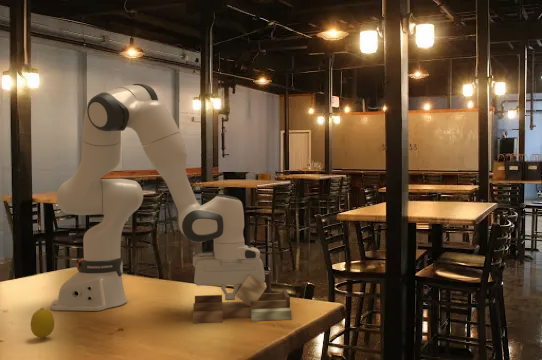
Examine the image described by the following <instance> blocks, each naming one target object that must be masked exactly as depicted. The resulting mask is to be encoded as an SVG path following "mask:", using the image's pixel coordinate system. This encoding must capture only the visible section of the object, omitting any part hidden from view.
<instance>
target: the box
mask: <svg viewBox="0 0 542 360" xmlns="http://www.w3.org/2000/svg"><path fill="white" fill-rule="evenodd" d="M264 273H265V281H264V282H265V283H266V287H267V288H266V289H265V290H264V292H263V293H272V274H271V273H272V272H271V270H264Z"/></svg>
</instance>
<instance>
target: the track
mask: <svg viewBox="0 0 542 360" xmlns="http://www.w3.org/2000/svg"><path fill="white" fill-rule="evenodd" d="M281 291H282V292H271V293H262V295H261V296H260V298H259V299H258V300H257V301H251V307H250V306H249V305H248V304H246V303H245V302H243V301H223V294H207V295H203V294H202V295H194V303H193V307H192V308H193V311H192V324H211V323H214V324H215V323H223V319H235V318H236V319H238V318H240V319H241V318H250V320H251V322H257V321H258V322H260V321H284V320H287V321H290V320H292V309H291V297H290V295H289V293H288V291H287V289H285V288H284V289H283V288H282V290H281Z"/></svg>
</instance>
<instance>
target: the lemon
mask: <svg viewBox="0 0 542 360" xmlns="http://www.w3.org/2000/svg"><path fill="white" fill-rule="evenodd" d="M54 328H55V318H54V314H53V312H51V311H50V310H49V309H47V308H45V307H40V309H38V310H36V311H35V312H34V313H33V315H32V316H31V320H30V329H31V331H32V334H33V336H35V337H37V338H40V339H41V340H45V339H46V338H47V337H49V336H50V335H51V334H52V333H53V332H54Z"/></svg>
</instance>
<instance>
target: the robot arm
mask: <svg viewBox="0 0 542 360" xmlns="http://www.w3.org/2000/svg"><path fill="white" fill-rule="evenodd" d="M86 107H87V108H86V110H85V113H84V116H83V117H84V118H83V122H82V135H81V139H82V142H81V158H80V163H79V166H78V168H77V170H76V171H75V172H74V174H73V175H72V176H71V177H70V178H68V179H67V180H66V181H64V182H63V183H62V184H61V185H60V186H59V188H58V190H57V192H56V203H57V206H58V208H59V209H60V210H61V212H63V213H64V214H68V215H75V216H91V215H103V219H102V221H101V222H99V223H98V224H96V225H94V226H92V227H90V228H89V229H88V230H87V231H86V232H85V233H84V234H83V257H82V258H80V259H79V260H78V261H77V263H76V268H77V272H75V274H73V275H72V276H71V277H69V279H67V280H66V281H65V282H64V283H63V284H62V285H61V287H60V288H59V291H58V298H57V299H55V300H53V302H51V304H50V309H51V310H52V311H75V312H76V311H78V312H79V311H84V312H85V311H87V312H92V311H93V312H98V311H99V312H100V311H103V310H106V309H110V308H116V307H119V306H122V305H124V304H126V303H127V301H128V300H127V297H126V294H125V289H124V282H123V277H122V276H123V270H124V268H123V267H124V266H123V265H124V263H123V258H122V257H121V243H122V234H123V233H122V232H123V229H124V226H125V224H126V222H127V221H128V219H129V218H130V217H131V216H132V215H133V214H134V213H135V212H137V210H138V209H139V208H140V207H141V205H142V203H143V201H144V191H143V188H142V187H141V185H140V183H138V181H136V180H133V179H126V178H103V176H105V175H107V174H109V173H110V172H113V171H114V170H115V169H116V168H117V167H118V166H119V164H120V163H121V147H122V133H121V132H122V131H125V130H126V128H130V129H132V130H133V131H135V132H136V134H137V136H138V139H139V142H140V143H141V146H142V148H143V151H144V153H145V155H146V157H147V159H148V160H149V162H150V164H151V165H152V166H153V167H154V169H155V171H156V172H157V173H158V174H159V175H160V176H161V178H162V179H163V181H164V182H165V185H166V186H167V188H168V190H169V193H170V196H171V198H172V200H173V202H174V205H175V208H176V212H177V213H176V214H177V215H176V217H177V218H176V223H177V224H176V225H177V228H178V231H179V233H180V234H181V235H182V236H183V237H184V238H186V239H188V240H189V241H190V242H193V243H204V242H207V241H212V240H213V251H208V252H198V253H196V254H194V256H193V257H192V266H193V267H194V275H193V276H194V278H193V279H194V280H193V282H194V284H195V286H199V287H200V286H201V287H202V286H220V287H221V288H220V289H221V291H222V292H223V294H224V297H225V298H224V300H225V301H236V296H235V293H236V292H237V290H238V288H239V285H240V284H243V283H244V281H245V280H246V279H247V277H248V276H249V275H250V276H252V277H253V278H255V279H256V280H258V281H259V282H261V283H263V282H264V281H265V273H264V271H265V268H264V263H263V261H262V259H261V258H260V257H261V250H259V249H258V248H257V247H254V246H249V245H246V244H245V237H244V229H245V215H244V214H245V213H244V205H243V202H242V201H241V200H240V198H237V197H236V196H230V195H224V194H223V195H222V194H218V195H216V196H215V197H214V198H212V199H211V200H210V201H207V202H206V203H204V204H202V205H201V204H200V202H199V201H198V199H197V198H196V195H195V192H194V190H193V189H192V187H191V184H190V180H189V178H188V175H187V168H186V166H187V165H186V164H187V159H188V158H187V156H188V155H187V154H188V153H187V150H186V146H185V142H184V139H183V138H184V137H183V135H182V134H181V131H180V129H179V127H178V125H177V122H176V121H175V119H174V117H173V115H172V114H171V112H170V111H169V109H168V108H167V106H166V104H164V103H163V102H162V101H160V100H159V98H158V95H157V92H156V91H155V90H154V89H153V87H151V85H147V84H144V83H135V84H131V85H123V86H119V87H116V88H112V89H111V90H107V91H105V92H100V93H98V94H96V95H94V96H92V98H90V100H89V101H88V104H87V106H86ZM227 285H228V286H230V285H231V286H232V285H233V291H232V292H227V290H226V288H227Z"/></svg>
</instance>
